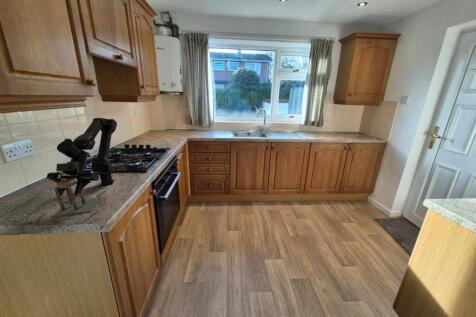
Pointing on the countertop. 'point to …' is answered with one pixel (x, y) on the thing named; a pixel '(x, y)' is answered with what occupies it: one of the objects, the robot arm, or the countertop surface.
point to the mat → (81, 207)
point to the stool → (68, 193)
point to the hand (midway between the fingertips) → (67, 195)
